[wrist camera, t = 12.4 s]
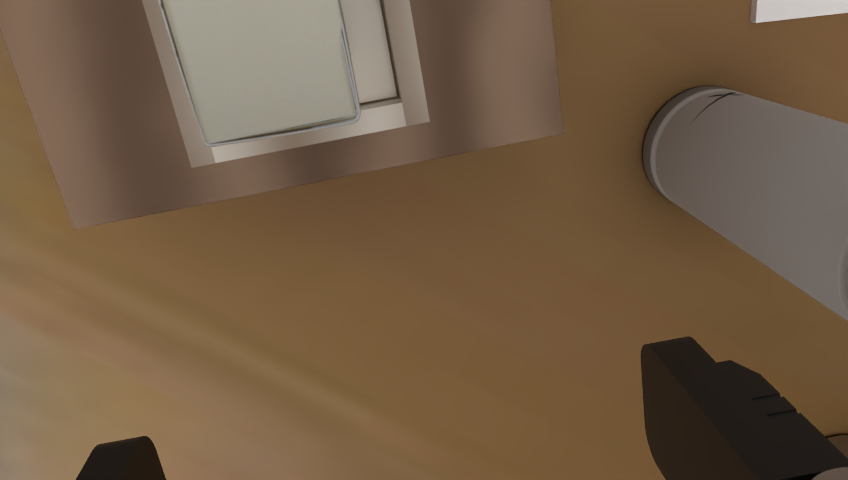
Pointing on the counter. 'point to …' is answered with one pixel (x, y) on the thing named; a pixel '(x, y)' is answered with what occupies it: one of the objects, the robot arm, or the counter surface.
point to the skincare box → (262, 66)
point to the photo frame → (794, 9)
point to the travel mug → (760, 182)
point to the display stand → (282, 156)
